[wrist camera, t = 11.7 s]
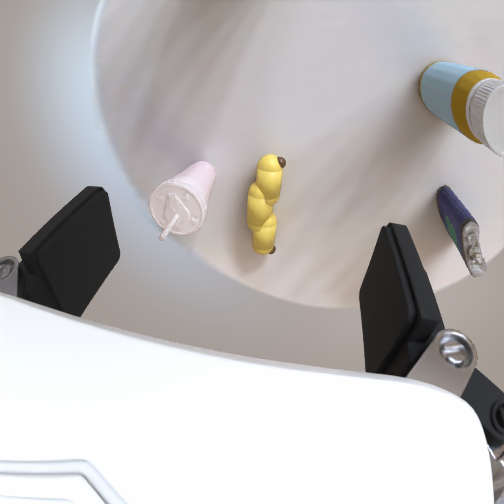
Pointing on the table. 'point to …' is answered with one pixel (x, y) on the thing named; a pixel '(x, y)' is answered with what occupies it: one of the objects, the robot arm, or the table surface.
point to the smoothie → (183, 200)
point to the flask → (461, 229)
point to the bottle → (466, 101)
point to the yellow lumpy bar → (264, 203)
